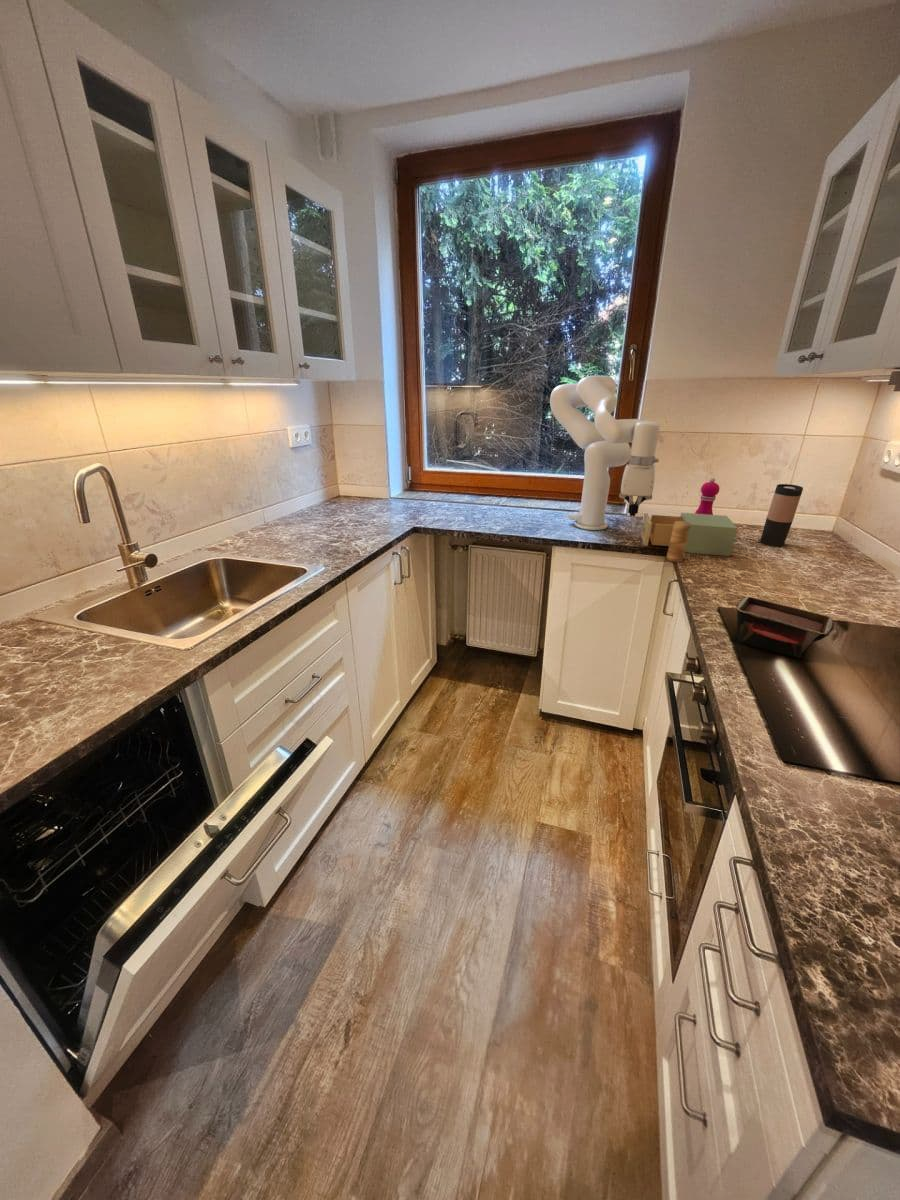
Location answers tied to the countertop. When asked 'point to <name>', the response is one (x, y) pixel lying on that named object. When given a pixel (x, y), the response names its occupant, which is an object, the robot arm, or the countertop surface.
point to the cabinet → (710, 534)
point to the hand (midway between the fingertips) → (632, 515)
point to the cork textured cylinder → (678, 541)
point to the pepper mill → (708, 497)
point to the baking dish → (779, 626)
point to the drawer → (656, 529)
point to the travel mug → (781, 514)
